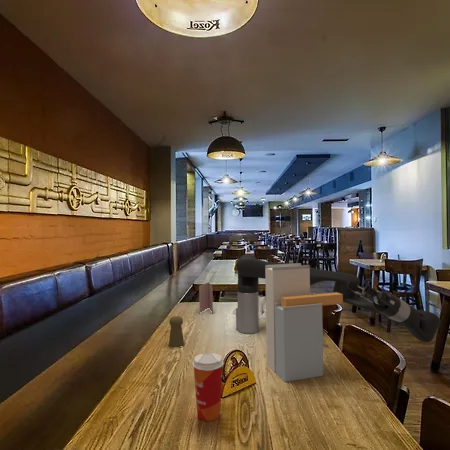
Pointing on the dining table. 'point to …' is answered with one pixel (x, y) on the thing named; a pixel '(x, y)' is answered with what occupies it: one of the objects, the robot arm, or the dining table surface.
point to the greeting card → (205, 297)
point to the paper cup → (208, 385)
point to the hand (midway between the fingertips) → (356, 286)
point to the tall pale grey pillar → (282, 287)
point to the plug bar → (312, 299)
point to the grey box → (299, 341)
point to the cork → (176, 332)
